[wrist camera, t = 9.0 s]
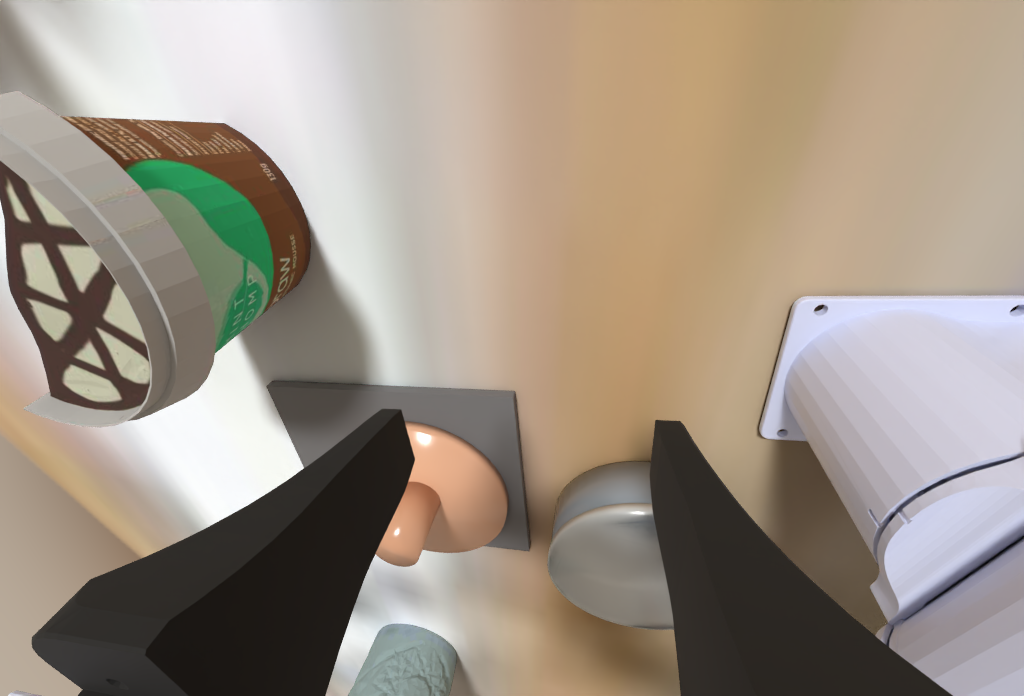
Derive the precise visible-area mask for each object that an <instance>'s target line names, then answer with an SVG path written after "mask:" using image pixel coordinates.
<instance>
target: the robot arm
mask: <svg viewBox="0 0 1024 696" xmlns="http://www.w3.org/2000/svg"><path fill="white" fill-rule="evenodd" d="M822 304H823V305H824V307H823V308H822V309H821V310H820V311H816V312H815V311H814V309H815V308H816V307H817V306H818V305H822ZM1017 305H1019V307H1018V308H1017V309H1016V310H1014V311H1012V312H1010V311H1011V309H1012V308H1013V307H1015V306H1017ZM781 429H785V430H783V431H781V432H778V431H779V430H781ZM759 431H760V433H761V435H762V436H763V437H764V438H767V439H777V440H795V441H808V443H809V445H810V446H811V448H812V450H813V452H814V453H815V455H816V457H817V459H818V461H819V462H820V464H821V466H822V468H823V469H824V471H825V473H826V475H827V476H828V478H829V480H830V482H831V483H832V485H833V487H834V489H835V490H836V492H837V494H838V496H839V497H840V499H841V501H842V503H843V504H844V506H845V508H846V510H847V511H848V513H849V515H850V517H851V518H852V520H853V522H854V524H855V525H856V527H857V529H858V531H859V533H860V534H861V536H862V538H863V540H864V541H865V543H866V545H867V547H868V548H869V550H870V552H871V554H872V555H873V557H874V559H875V561H876V562H877V564H878V566H879V570H880V571H879V576H878V578H877V579H876V581H875V582H874V583H873V584H872V585H871V586H870V589H871V591H872V593H873V595H874V597H875V599H876V601H877V603H878V604H879V606H880V608H881V610H882V612H883V614H884V616H885V618H886V620H887V622H888V624H886V625H885V626H883V627H882V628H881V629H879V630H878V632H877V633H876V635H873V634H872V633H871V632H870V631H869V630H867V629H866V628H865V627H864V626H863V625H861V624H860V623H859V622H858V621H856V620H855V619H854V618H853V617H852V616H851V615H849V614H848V613H847V612H846V611H845V610H844V609H843V608H842V607H841V606H839V605H838V604H837V603H836V602H835V601H834V600H833V599H832V598H831V597H829V596H828V595H827V594H826V593H825V592H824V591H823V590H822V589H820V588H819V587H818V586H817V585H816V584H815V583H814V582H813V581H812V580H810V579H809V578H808V577H807V576H806V575H805V574H804V573H803V572H802V571H801V570H800V569H799V568H798V567H797V566H796V565H795V564H794V563H793V562H792V561H791V560H790V559H789V558H788V557H787V556H786V555H785V554H784V553H783V552H782V551H781V550H780V549H779V548H778V547H777V546H776V545H775V544H774V543H773V541H772V540H771V539H770V538H769V537H768V536H767V535H766V534H765V533H764V532H763V531H762V530H761V529H760V527H759V526H758V525H757V524H756V523H755V522H754V521H753V519H752V518H751V517H750V516H749V515H748V514H747V512H746V511H745V510H744V509H743V508H742V506H741V505H740V504H739V503H738V502H737V500H736V499H735V498H734V497H733V495H732V494H731V493H730V492H729V490H728V489H727V488H726V486H725V485H724V484H723V482H722V481H721V480H720V478H719V477H718V476H717V474H716V473H715V472H714V470H713V469H712V468H711V466H710V465H709V463H708V462H707V460H706V459H705V458H704V456H703V455H702V453H701V452H700V450H699V449H698V447H697V446H696V444H695V443H694V441H693V439H692V438H691V436H690V435H689V433H688V431H687V430H686V428H685V426H684V425H683V424H682V423H681V422H680V421H663V420H656V421H655V430H654V439H653V448H652V457H651V466H650V488H651V499H652V510H653V516H654V521H655V526H656V531H657V536H658V541H659V546H660V551H661V556H662V561H663V566H664V571H665V576H666V581H667V586H668V591H669V596H670V602H671V608H672V614H673V623H674V632H675V641H676V650H677V660H678V670H679V680H680V690H681V696H1024V296H805V297H802V298H799V299H798V300H797V301H795V302H794V304H793V306H792V309H791V313H790V316H789V320H788V324H787V327H786V331H785V335H784V338H783V342H782V346H781V349H780V353H779V357H778V360H777V364H776V368H775V371H774V375H773V379H772V382H771V386H770V390H769V393H768V397H767V401H766V404H765V408H764V412H763V415H762V419H761V423H760V426H759ZM414 462H415V457H414V453H413V450H412V446H411V442H410V439H409V435H408V432H407V428H406V424H405V421H404V417H403V414H402V410H401V409H381V410H380V411H378V412H377V413H375V414H374V415H373V416H372V417H370V418H369V419H368V420H366V421H365V422H364V423H363V424H361V425H360V426H359V427H358V428H356V429H355V430H354V431H353V432H351V433H350V434H349V435H348V436H346V437H345V438H344V439H342V440H341V441H340V442H339V443H337V444H336V445H335V446H334V447H332V448H331V449H330V450H328V451H327V452H326V453H325V454H323V455H322V456H321V457H319V458H318V459H316V460H315V461H314V462H312V463H311V464H310V465H308V466H307V467H305V468H304V469H303V470H301V471H300V472H299V473H297V474H296V475H294V476H293V477H292V478H290V479H289V480H287V481H286V482H284V483H283V484H281V485H280V486H278V487H277V488H275V489H274V490H272V491H270V492H269V493H267V494H266V495H264V496H262V497H261V498H259V499H258V500H256V501H254V502H253V503H251V504H249V505H248V506H246V507H244V508H242V509H241V510H239V511H237V512H235V513H233V514H231V515H230V516H228V517H226V518H224V519H222V520H221V521H219V522H217V523H215V524H213V525H211V526H210V527H208V528H206V529H204V530H202V531H200V532H198V533H196V534H194V535H192V536H190V537H188V538H186V539H184V540H182V541H179V542H177V543H175V544H173V545H171V546H169V547H166V548H164V549H162V550H160V551H158V552H156V553H153V554H151V555H149V556H146V557H144V558H142V559H139V560H137V561H134V562H132V563H130V564H127V565H125V566H122V567H120V568H117V569H115V570H113V571H110V572H108V573H105V574H103V575H100V576H98V577H95V578H93V579H91V580H89V581H88V582H87V583H86V584H85V585H84V586H83V587H82V588H81V589H80V590H79V591H78V592H77V593H76V594H75V595H74V596H73V597H72V598H71V599H70V600H69V601H68V602H67V603H66V604H65V605H64V606H63V607H62V608H61V609H60V610H59V611H58V612H57V613H56V614H55V615H54V616H53V617H52V618H51V619H50V620H49V621H48V622H47V623H46V624H45V625H44V626H43V627H42V628H41V629H40V630H39V631H38V632H37V633H36V634H35V635H34V636H33V637H32V648H33V649H34V650H35V652H36V653H37V654H38V656H40V657H41V658H42V659H43V660H44V661H45V662H47V663H48V664H49V665H51V666H52V667H53V668H55V669H56V670H58V671H59V672H60V673H61V674H63V675H64V676H65V677H67V678H68V679H69V680H71V681H72V682H74V683H75V684H76V685H78V686H79V687H80V688H81V689H83V690H82V691H81V692H80V693H79V695H78V696H325V695H326V691H327V688H328V685H329V682H330V678H331V675H332V672H333V669H334V665H335V662H336V659H337V656H338V652H339V649H340V646H341V643H342V640H343V637H344V634H345V632H346V629H347V626H348V623H349V620H350V617H351V614H352V611H353V608H354V605H355V603H356V600H357V597H358V595H359V592H360V589H361V586H362V584H363V581H364V578H365V576H366V573H367V571H368V569H369V566H370V564H371V562H372V560H373V558H374V556H375V553H376V551H377V549H378V547H379V545H380V543H381V541H382V539H383V537H384V535H385V533H386V531H387V529H388V526H389V524H390V522H391V520H392V518H393V516H394V514H395V512H396V510H397V508H398V505H399V503H400V501H401V499H402V497H403V495H404V492H405V490H406V487H407V484H408V481H409V478H410V475H411V472H412V469H413V465H414ZM8 696H40V695H35V694H31V693H26V692H21V691H15V692H12V693H10V694H9V695H8Z"/></svg>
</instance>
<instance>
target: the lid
mask: <svg viewBox="0 0 1024 696" xmlns="http://www.w3.org/2000/svg"><path fill="white" fill-rule="evenodd" d="M405 424H406V428H407V432H408V435H409V439H410V442H411V446H412V450H413V453H414V457H415V462H414V465H413V469H412V472H411V475H410V478H409V481H408V484H407V487H406V490H405V492H404V495H403V497H402V499H401V501H400V503H399V505H398V508H397V510H396V512H395V514H394V516H393V518H392V520H391V522H390V524H389V526H388V529H387V531H386V533H385V535H384V537H383V539H382V541H381V543H380V545H379V547H378V549H377V551H376V553H375V554H376V555H377V556H378V557H379V558H381V559H382V560H384V561H386V562H388V563H390V564H393V565H396V566H403V567H406V566H412V565H414V564H416V563H417V561H418V559H419V557H420V554H421V552H422V549H423V550H427V551H433V552H443V553H457V552H465V551H470V550H474V549H477V548H480V547H482V546H484V545H486V544H488V543H489V542H491V541H492V540H493V539H494V538H496V537H497V535H498V534H499V533H500V532H501V530H502V528H503V526H504V523H505V520H506V516H507V511H508V505H509V498H508V491H507V488H506V485H505V482H504V480H503V478H502V476H501V475H500V473H499V472H498V470H497V469H496V467H495V466H494V465H493V464H492V463H491V461H490V460H489V459H488V458H487V457H486V456H485V455H484V454H483V453H481V452H480V451H479V450H478V449H477V448H475V447H474V446H473V445H471V444H470V443H468V442H467V441H465V440H463V439H462V438H460V437H458V436H456V435H454V434H452V433H450V432H448V431H445V430H443V429H440V428H437V427H434V426H431V425H427V424H423V423H417V422H411V421H405Z"/></svg>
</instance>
